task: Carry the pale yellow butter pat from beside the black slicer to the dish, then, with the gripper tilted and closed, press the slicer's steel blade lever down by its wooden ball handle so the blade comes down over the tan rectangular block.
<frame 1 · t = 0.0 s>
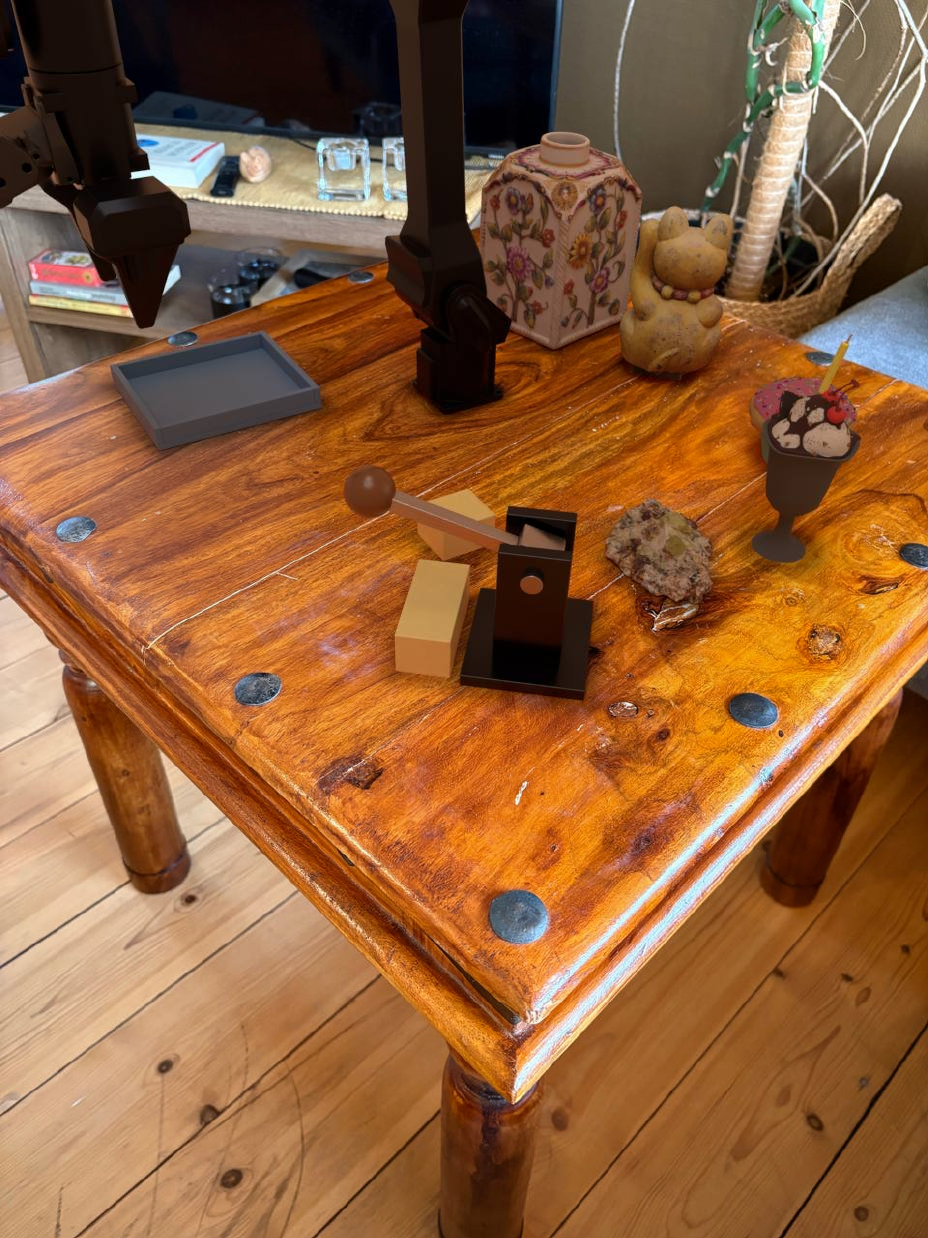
hand: (126, 302, 72), 15 cm above the table, tool pointing down, fingers open, 9 cm apart
decorative figurine: (663, 372, 97), on the table
tan rectangular block: (433, 637, 68), on the table
slicer: (528, 649, 67), on the table
lever: (452, 523, 61), point 10 cm above the table, hinge at 18.0°
sundae: (777, 551, 76), on the table
mineral rock: (661, 566, 74), on the table
dish: (216, 396, 92), on the table
decorative jar: (551, 319, 106), on the table
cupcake: (788, 461, 86), on the table
butter pat: (455, 541, 76), on the table
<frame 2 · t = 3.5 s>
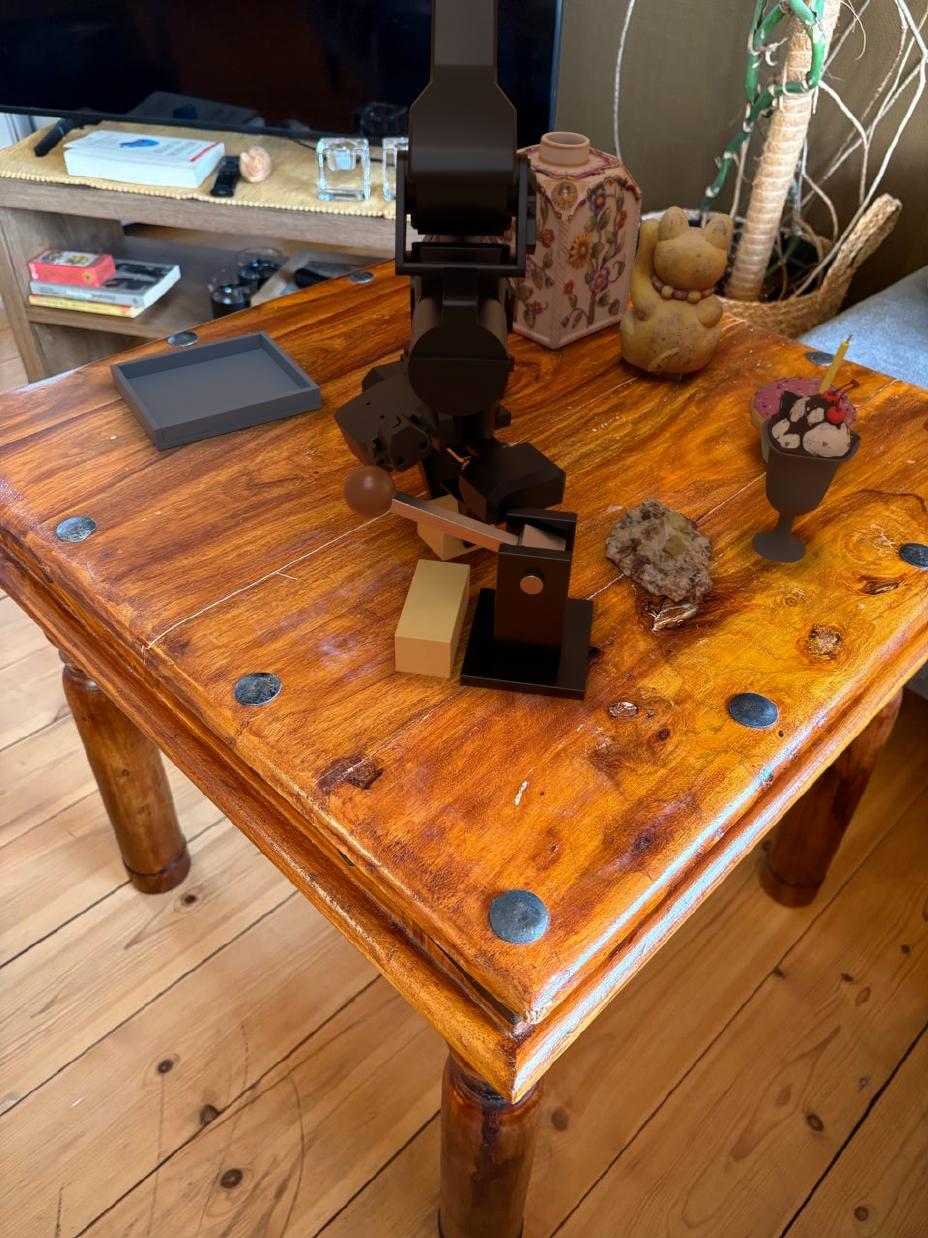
hand: (455, 530, 75), 1 cm above the table, tool pointing down, fingers closed on butter pat, 4 cm apart
butter pat: (455, 541, 76), on the table, touching gripper
everything else where it was.
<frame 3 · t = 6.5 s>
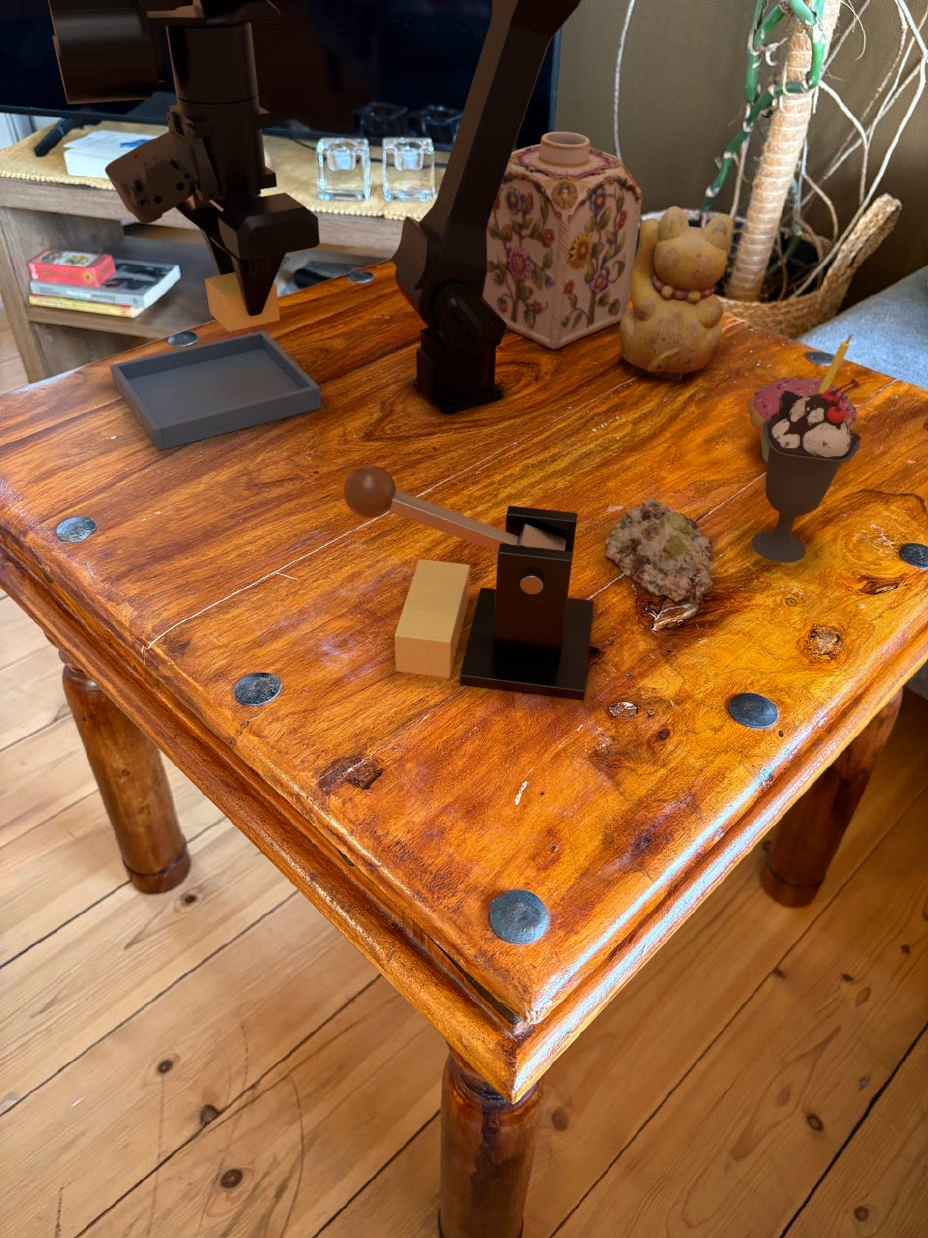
hand: (244, 304, 81), 11 cm above the table, tool pointing down, fingers closed on butter pat, 4 cm apart
butter pat: (244, 316, 81), point 10 cm above the table, touching gripper
everything else where it was.
when the fingers open (2 cm above the table, at t = 9.6 s): butter pat stays where it is, resting on dish.
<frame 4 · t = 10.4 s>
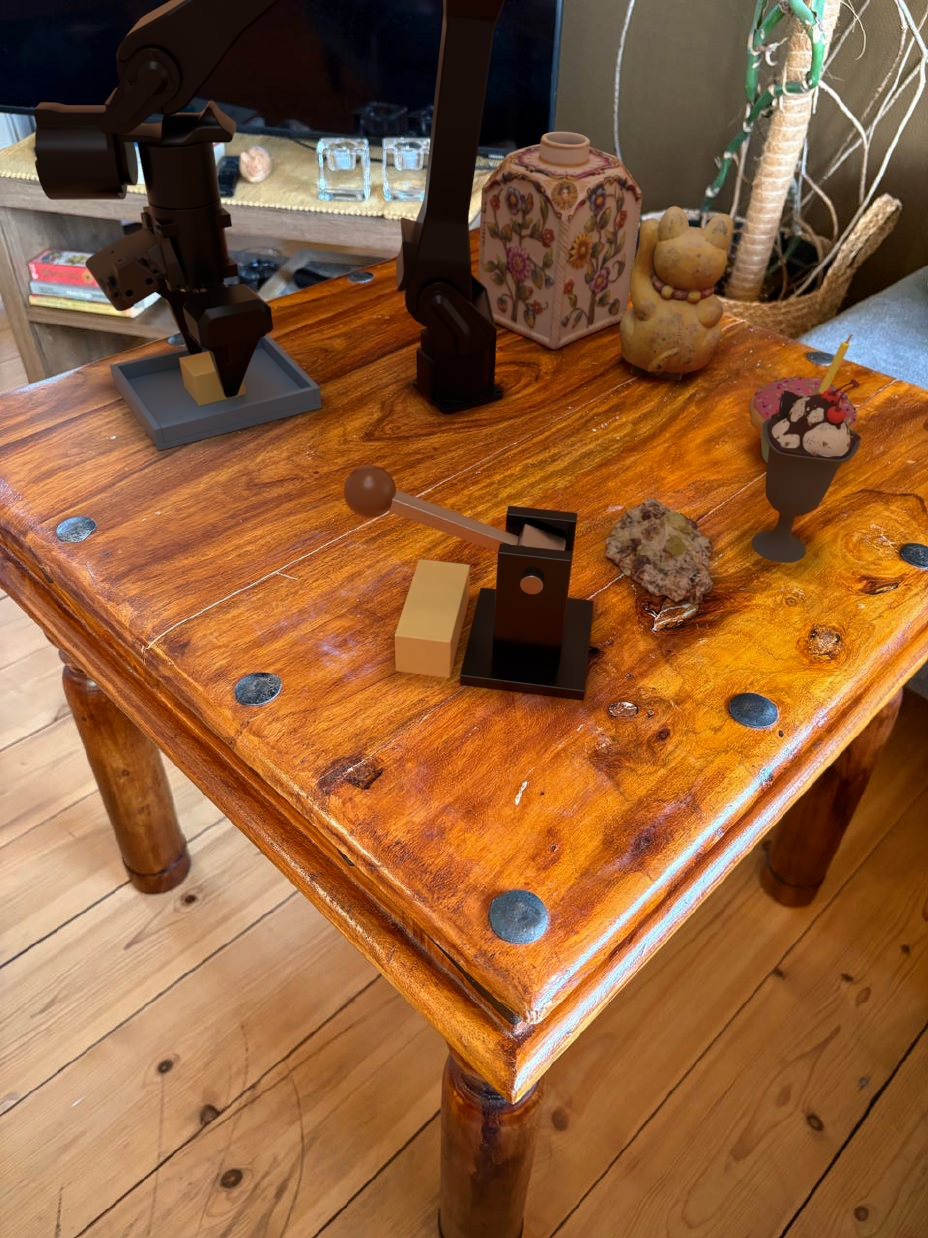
hand: (212, 374, 90), 2 cm above the table, tool pointing down, fingers open, 9 cm apart
butter pat: (215, 391, 91), point 1 cm above the table, touching dish
everything else where it was.
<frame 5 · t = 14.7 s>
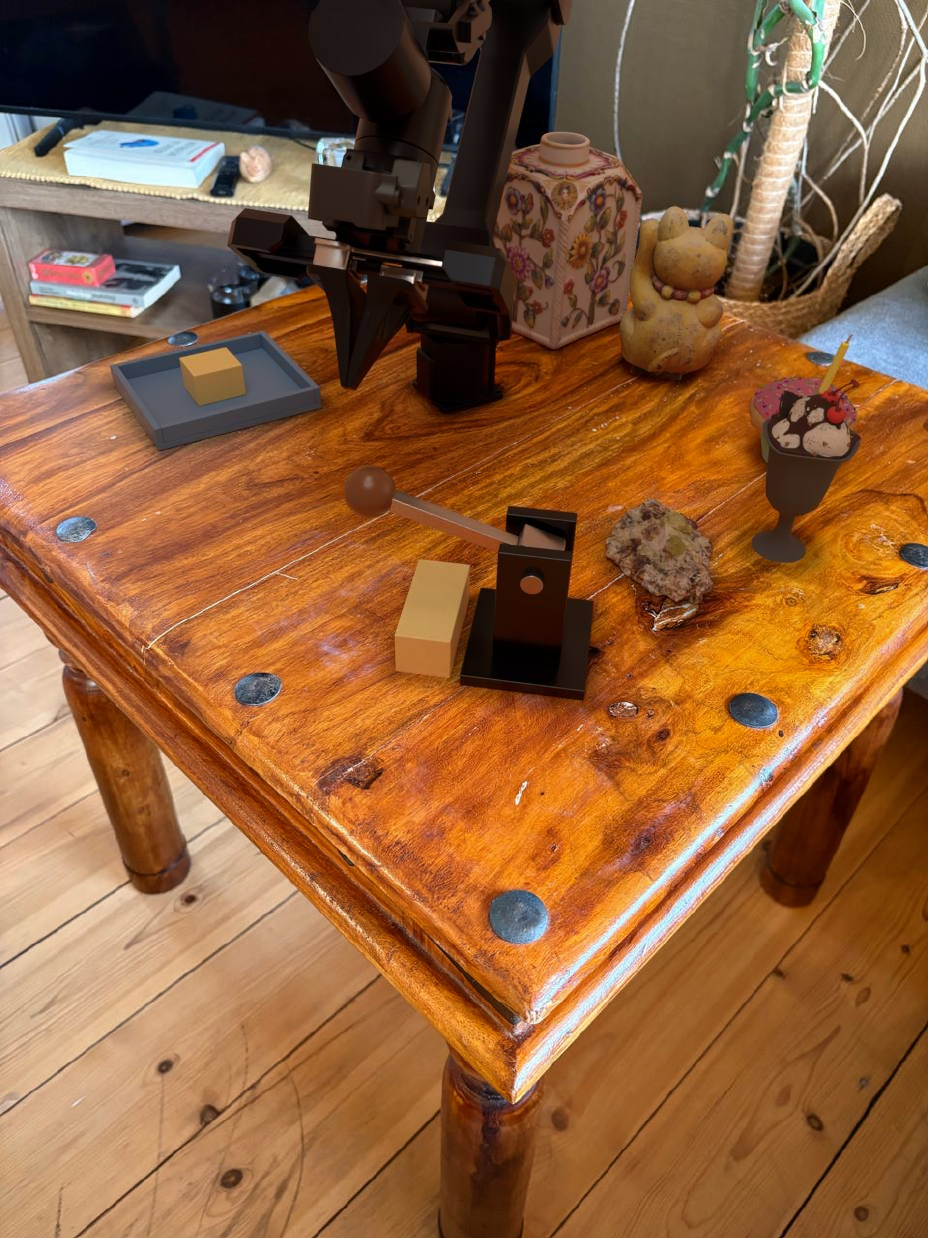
hand: (347, 388, 67), 13 cm above the table, tool tilted 40°, fingers closed
nothing on the table moved.
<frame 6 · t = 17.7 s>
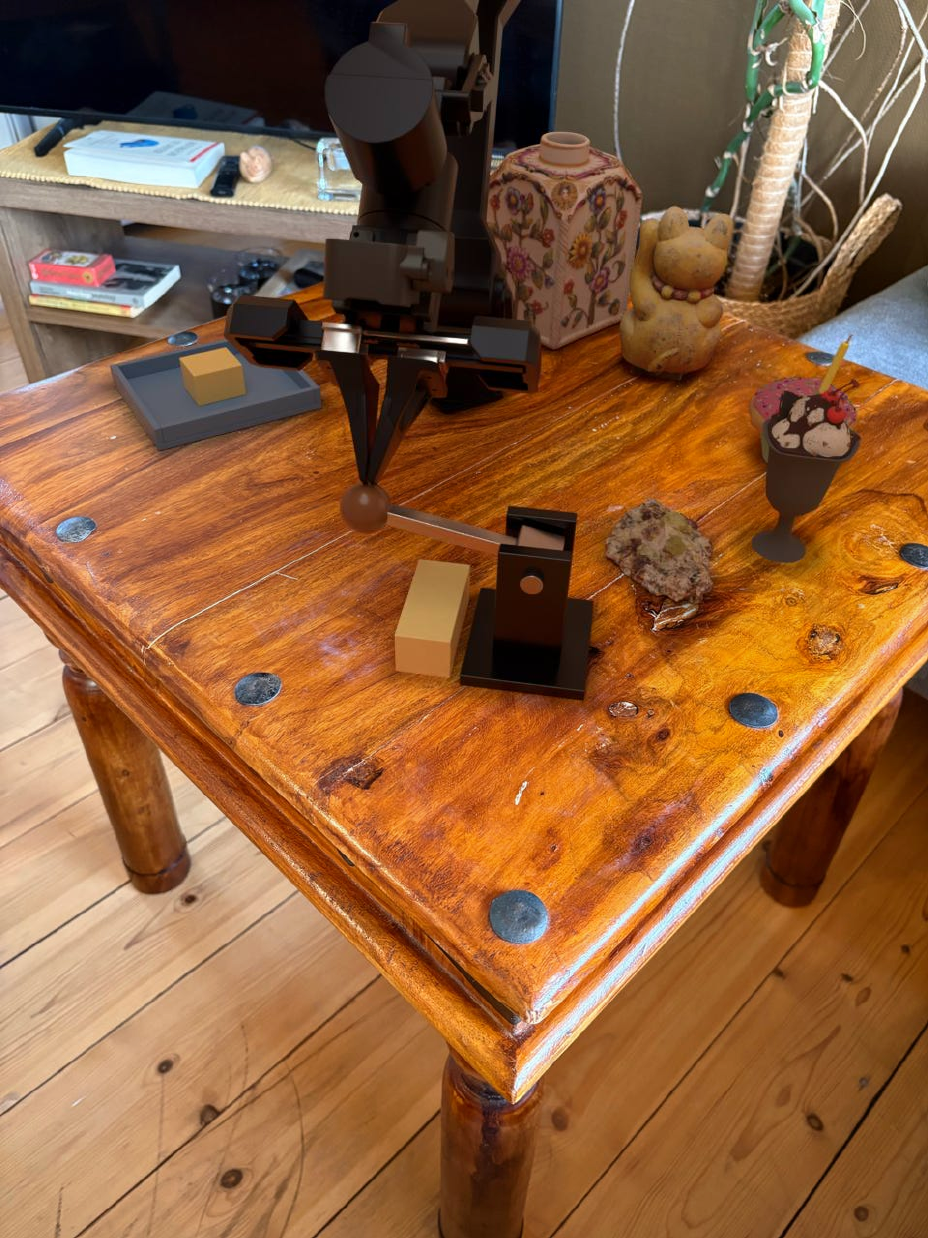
hand: (368, 482, 60), 12 cm above the table, tool tilted 45°, fingers closed
lever: (449, 531, 61), point 9 cm above the table, hinge at 11.4°, touching gripper
everything else where it was.
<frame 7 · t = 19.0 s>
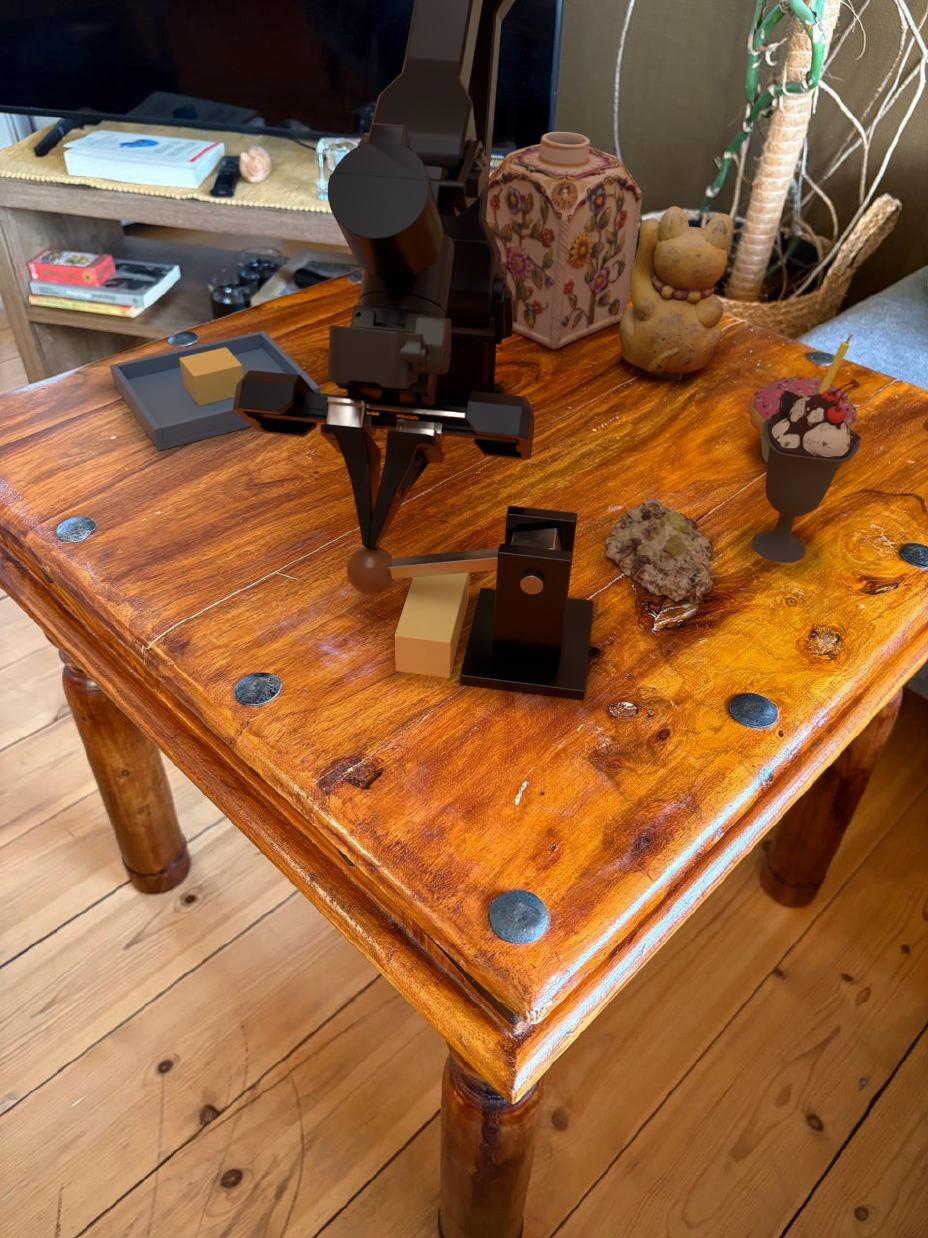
hand: (370, 547, 63), 7 cm above the table, tool tilted 45°, fingers closed, pressing on lever
lever: (450, 563, 63), point 7 cm above the table, hinge at -14.4°, touching gripper
everything else where it was.
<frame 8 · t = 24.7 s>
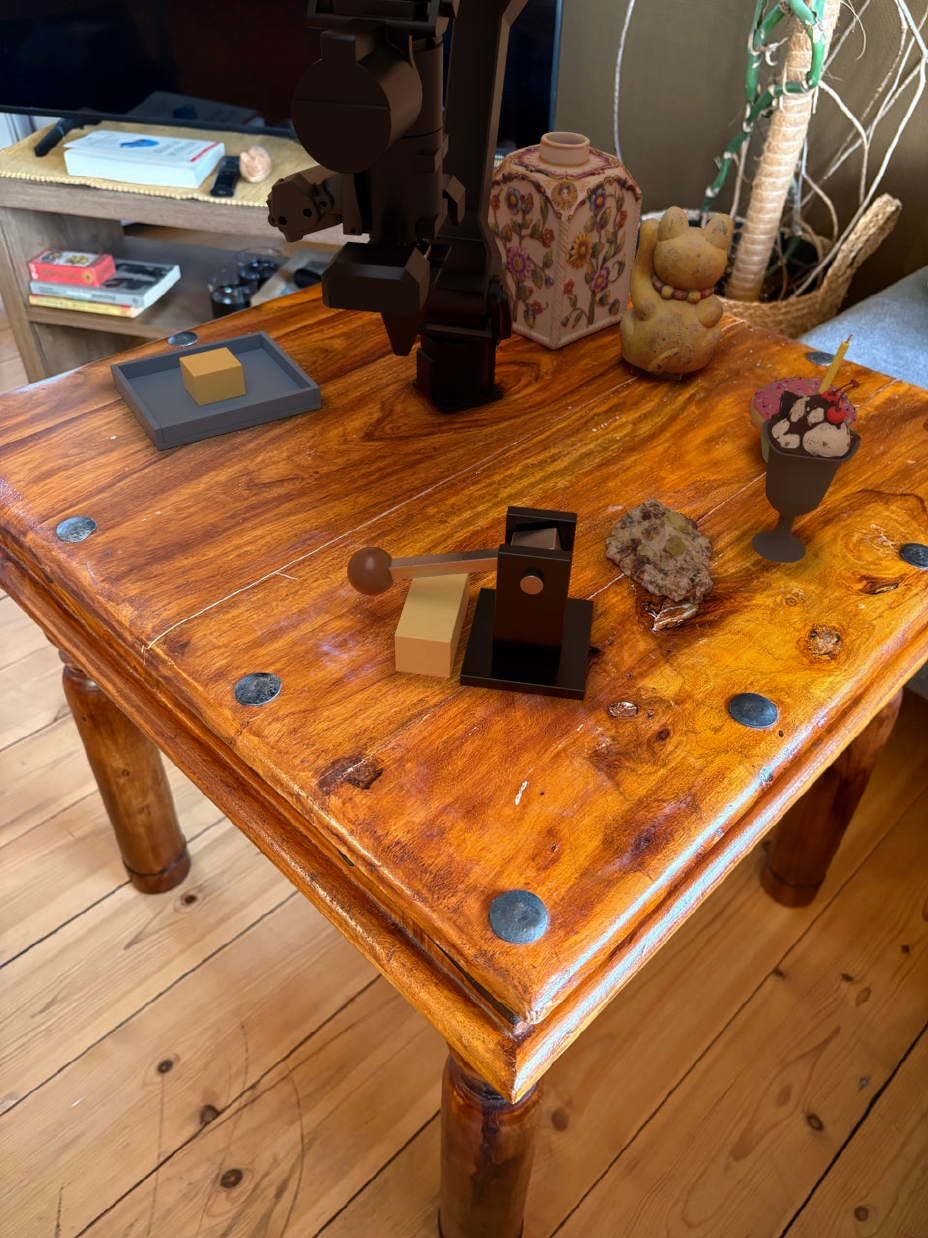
hand: (402, 353, 73), 12 cm above the table, tool pointing down, fingers closed
lever: (450, 563, 63), point 7 cm above the table, hinge at -14.9°
everything else where it was.
at the end: butter pat inside the target area in the dish (0.1 cm from its centre), point 0.6 cm above the dish's base; lever at -15° (first picture: +18°); tan rectangular block moved 0.0 cm from its start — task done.
